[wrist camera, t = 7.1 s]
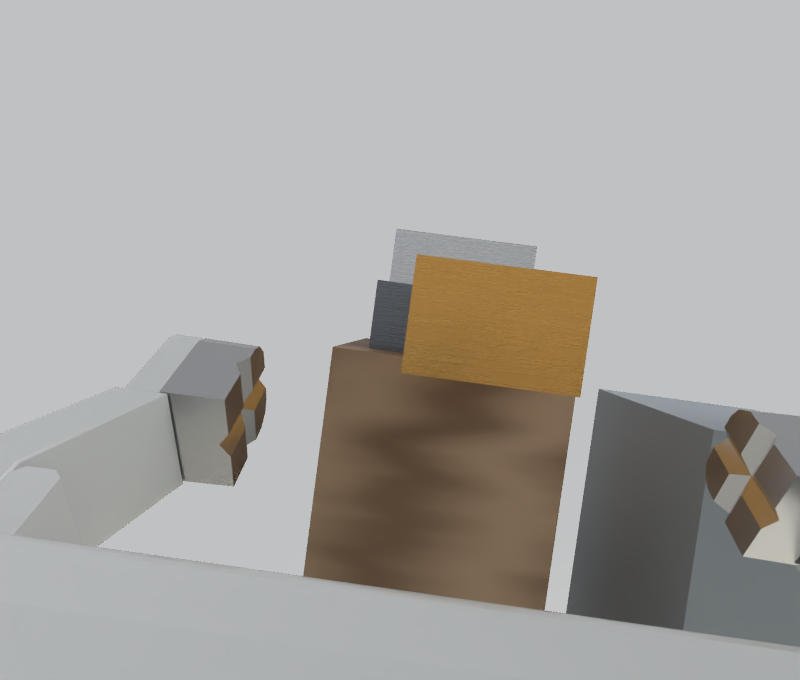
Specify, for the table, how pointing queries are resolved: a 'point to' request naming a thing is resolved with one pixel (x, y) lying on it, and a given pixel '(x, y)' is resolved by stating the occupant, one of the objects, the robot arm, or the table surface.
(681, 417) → the grey stand
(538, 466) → the walnut stand
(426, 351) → the wood and grey block
